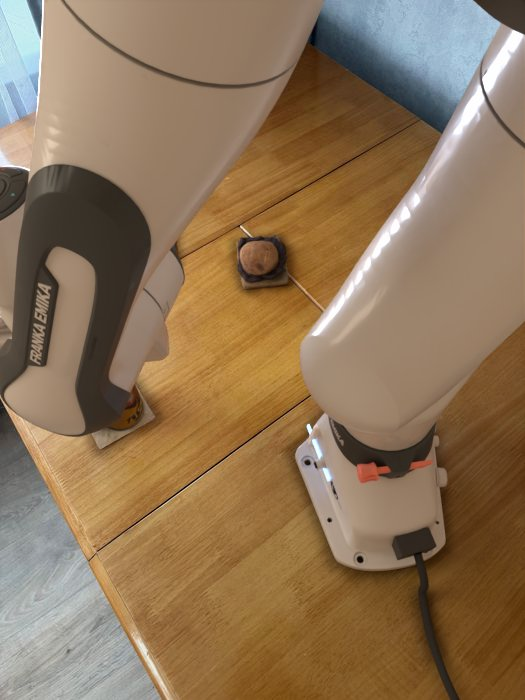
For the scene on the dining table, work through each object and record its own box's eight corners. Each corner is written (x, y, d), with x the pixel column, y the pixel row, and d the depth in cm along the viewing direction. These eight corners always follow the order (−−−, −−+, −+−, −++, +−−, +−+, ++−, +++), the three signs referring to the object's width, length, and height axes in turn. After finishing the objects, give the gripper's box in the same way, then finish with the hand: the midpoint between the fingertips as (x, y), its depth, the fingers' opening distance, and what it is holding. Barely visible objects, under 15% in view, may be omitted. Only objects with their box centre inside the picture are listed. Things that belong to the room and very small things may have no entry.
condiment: (155, 418, 74) (138, 378, 63) (99, 450, 71) (72, 413, 61) (132, 379, 77) (112, 335, 66) (78, 409, 74) (48, 367, 64)
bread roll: (291, 286, 86) (292, 271, 82) (239, 290, 85) (238, 276, 82) (282, 237, 91) (283, 221, 88) (233, 241, 90) (232, 225, 87)
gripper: (-58, 352, 50) (2, 411, 62) (159, 327, 52) (177, 389, 64) (-48, 299, 53) (7, 364, 65) (156, 276, 55) (173, 344, 67)
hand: (92, 376), depth 65 cm, fingers open, 8 cm apart
